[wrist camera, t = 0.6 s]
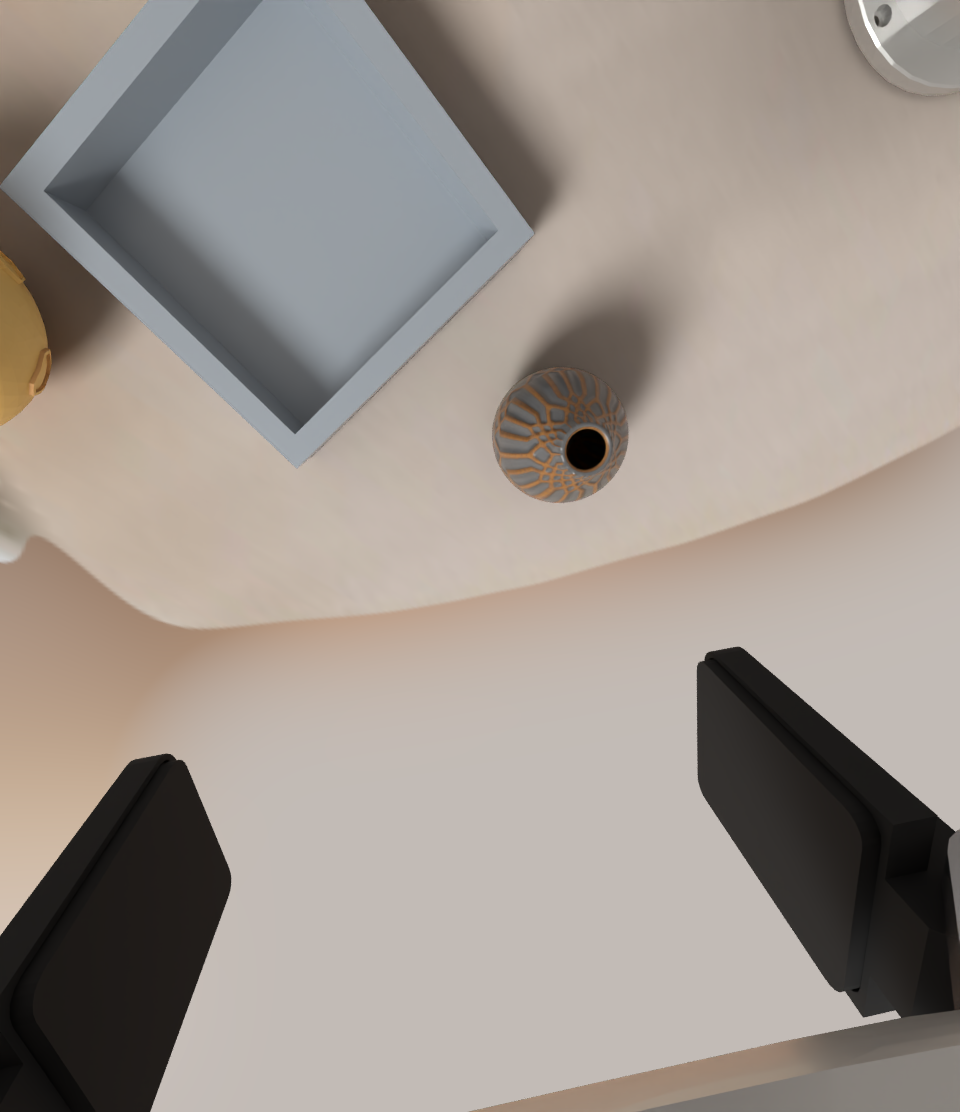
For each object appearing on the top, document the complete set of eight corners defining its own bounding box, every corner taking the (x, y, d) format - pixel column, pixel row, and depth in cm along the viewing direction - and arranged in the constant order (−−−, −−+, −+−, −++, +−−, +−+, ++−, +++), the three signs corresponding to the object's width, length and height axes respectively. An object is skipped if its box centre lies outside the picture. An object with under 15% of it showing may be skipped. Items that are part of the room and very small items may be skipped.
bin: (285, -63, 23) (261, -141, 20) (520, 250, 28) (534, 233, 25) (57, 212, 26) (-1, 186, 22) (311, 457, 31) (296, 468, 27)
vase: (619, 395, 31) (690, 404, 23) (570, 502, 33) (620, 546, 25) (513, 347, 30) (548, 338, 22) (468, 463, 32) (484, 495, 24)
